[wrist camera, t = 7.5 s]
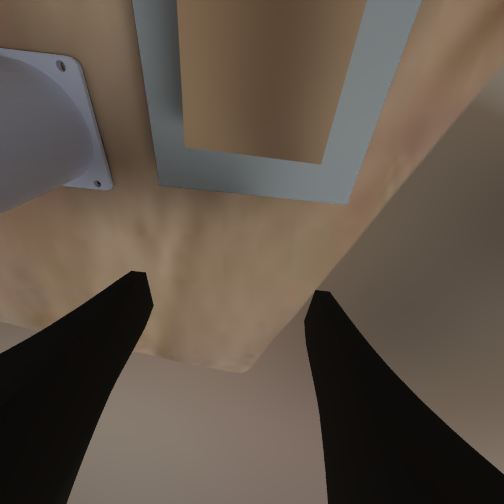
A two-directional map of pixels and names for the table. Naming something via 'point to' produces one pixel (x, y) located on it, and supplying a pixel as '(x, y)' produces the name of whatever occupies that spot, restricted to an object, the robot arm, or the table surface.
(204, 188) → the base block
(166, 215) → the table surface
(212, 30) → the walnut cube
